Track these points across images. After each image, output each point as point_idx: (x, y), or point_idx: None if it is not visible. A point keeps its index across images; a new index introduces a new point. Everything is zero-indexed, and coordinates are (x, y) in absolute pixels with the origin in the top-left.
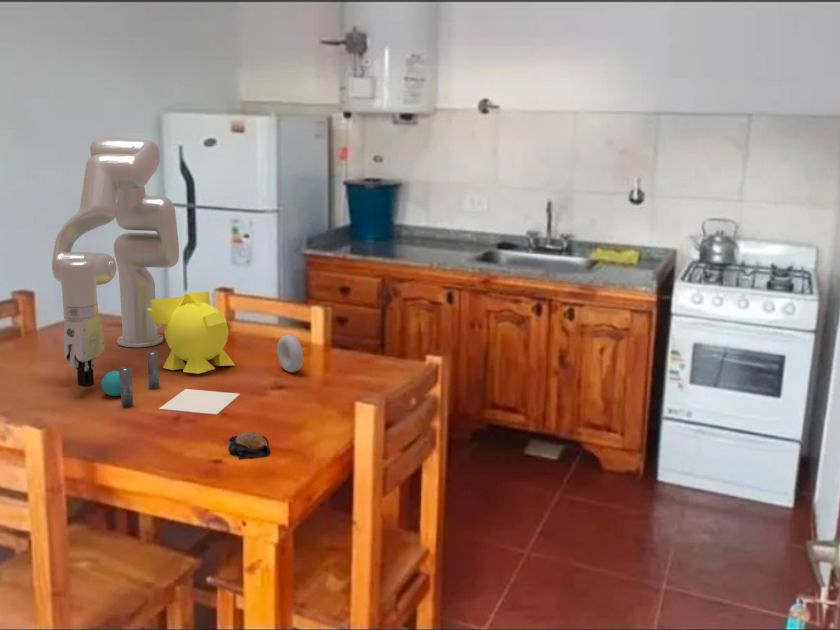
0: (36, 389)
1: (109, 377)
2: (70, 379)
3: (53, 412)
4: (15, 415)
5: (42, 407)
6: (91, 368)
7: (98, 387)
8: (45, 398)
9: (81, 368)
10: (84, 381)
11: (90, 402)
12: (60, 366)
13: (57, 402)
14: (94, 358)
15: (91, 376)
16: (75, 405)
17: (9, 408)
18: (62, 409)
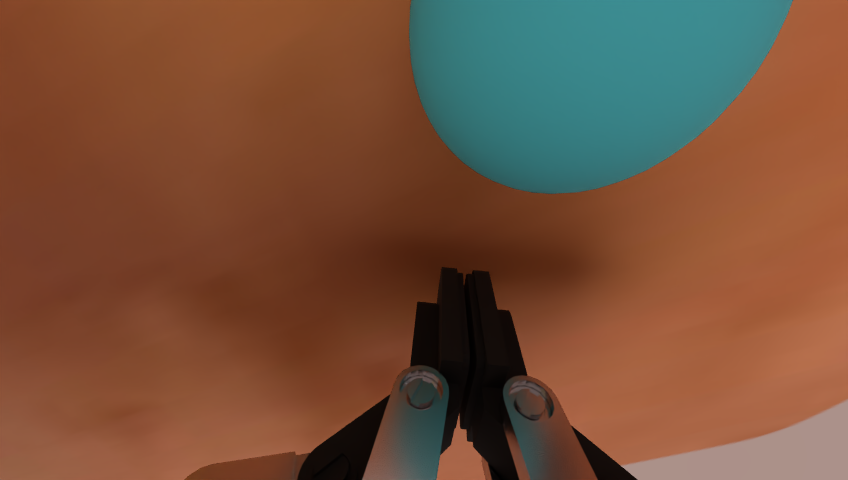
0: (458, 442)
1: (765, 49)
2: (307, 390)
3: (821, 301)
4: (798, 413)
5: (709, 366)
6: (440, 376)
7: (375, 244)
8: (572, 392)
9: (600, 450)
10: (511, 324)
11: (676, 175)
12: (192, 454)
13: (640, 337)
14: (327, 465)
15: (465, 316)
16: (719, 241)
17: (689, 448)
18: (779, 279)
